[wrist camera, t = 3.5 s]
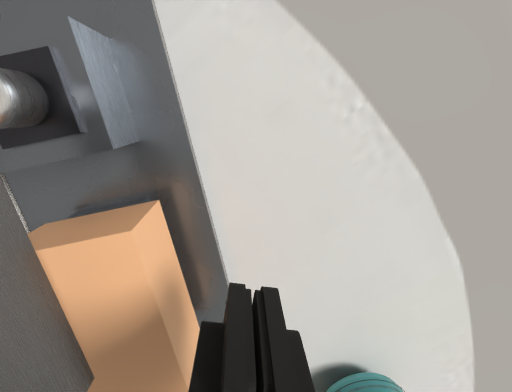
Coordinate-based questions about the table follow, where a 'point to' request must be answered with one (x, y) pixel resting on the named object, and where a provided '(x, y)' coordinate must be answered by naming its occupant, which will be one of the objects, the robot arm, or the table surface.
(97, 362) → the cover
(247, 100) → the table surface
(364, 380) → the beverage bottle
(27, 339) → the t key
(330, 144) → the table surface
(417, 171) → the table surface
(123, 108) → the latch base
